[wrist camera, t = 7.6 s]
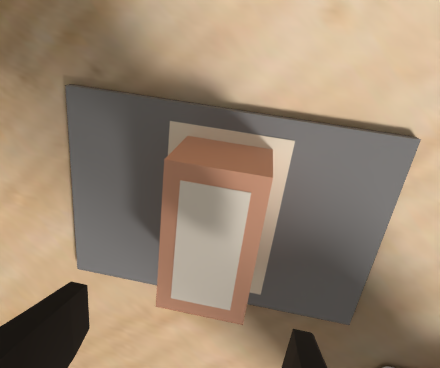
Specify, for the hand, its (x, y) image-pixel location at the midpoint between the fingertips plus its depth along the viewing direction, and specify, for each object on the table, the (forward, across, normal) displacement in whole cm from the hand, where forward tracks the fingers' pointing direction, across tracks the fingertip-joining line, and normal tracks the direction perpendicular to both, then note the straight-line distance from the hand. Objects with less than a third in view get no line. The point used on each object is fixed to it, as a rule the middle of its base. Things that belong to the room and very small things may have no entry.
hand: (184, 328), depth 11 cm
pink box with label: (+8, 0, 0) cm, 8 cm away
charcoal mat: (+9, 0, 0) cm, 9 cm away
